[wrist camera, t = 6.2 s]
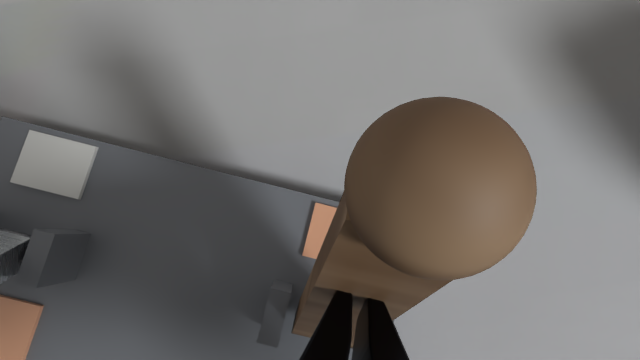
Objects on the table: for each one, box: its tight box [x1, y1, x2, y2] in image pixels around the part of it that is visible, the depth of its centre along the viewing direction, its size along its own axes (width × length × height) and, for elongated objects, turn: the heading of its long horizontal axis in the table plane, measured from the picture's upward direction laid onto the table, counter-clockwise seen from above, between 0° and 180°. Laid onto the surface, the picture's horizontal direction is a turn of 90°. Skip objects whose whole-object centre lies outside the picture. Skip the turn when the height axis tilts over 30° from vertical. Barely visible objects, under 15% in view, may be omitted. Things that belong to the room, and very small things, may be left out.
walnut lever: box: [291, 97, 537, 348], centre depth 10 cm, size 3×3×13 cm
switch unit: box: [0, 116, 394, 360], centre depth 16 cm, size 10×19×4 cm, turn 76°
